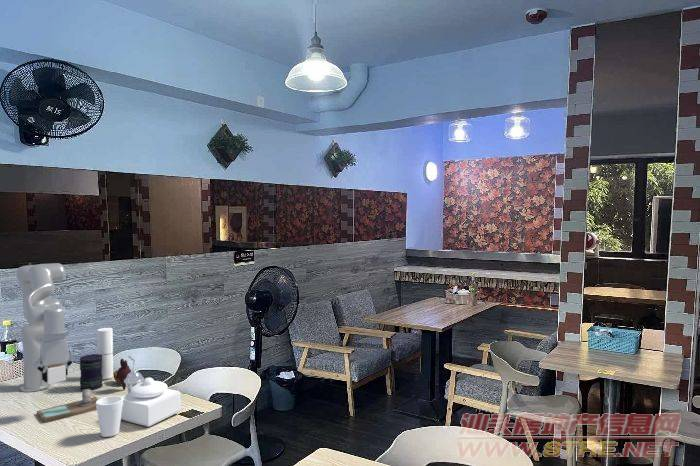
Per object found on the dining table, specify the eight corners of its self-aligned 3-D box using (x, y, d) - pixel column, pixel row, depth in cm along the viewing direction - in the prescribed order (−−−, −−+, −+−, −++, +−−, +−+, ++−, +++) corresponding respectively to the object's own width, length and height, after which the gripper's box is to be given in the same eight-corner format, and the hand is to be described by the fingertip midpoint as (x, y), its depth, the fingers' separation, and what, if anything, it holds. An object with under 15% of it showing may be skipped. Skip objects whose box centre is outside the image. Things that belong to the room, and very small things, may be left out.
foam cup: (102, 428, 193) (102, 395, 192) (126, 427, 193) (126, 395, 193) (92, 439, 183) (91, 405, 183) (117, 438, 184) (117, 404, 183)
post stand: (36, 414, 205) (36, 397, 205) (95, 400, 221) (95, 383, 221) (44, 423, 196) (43, 405, 196) (104, 407, 213) (104, 390, 212)
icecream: (134, 390, 234) (134, 359, 233) (118, 394, 229) (118, 362, 228) (129, 386, 239) (128, 356, 238) (113, 390, 234) (113, 359, 233)
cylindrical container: (106, 379, 248) (106, 331, 247) (94, 378, 249) (94, 330, 248) (116, 375, 255) (115, 328, 254) (104, 374, 256) (103, 327, 255)
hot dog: (122, 378, 251) (122, 368, 251) (131, 385, 241) (131, 375, 241) (112, 380, 248) (111, 370, 247) (120, 387, 238) (120, 377, 238)
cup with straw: (123, 406, 214) (122, 361, 213) (124, 399, 222) (124, 356, 222) (144, 404, 217) (143, 359, 216) (144, 396, 226) (144, 354, 225)
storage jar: (107, 386, 239) (106, 356, 238) (87, 392, 231) (86, 361, 230) (95, 382, 244) (95, 353, 244) (75, 388, 236) (75, 357, 235)
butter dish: (180, 410, 211) (180, 374, 210) (147, 427, 194) (147, 388, 194) (151, 403, 218) (150, 368, 217) (116, 419, 202) (116, 381, 201)
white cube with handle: (61, 376, 208) (61, 361, 208) (65, 380, 204) (65, 364, 204) (44, 380, 204) (44, 364, 204) (48, 384, 199) (48, 367, 199)
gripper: (74, 332, 212) (75, 372, 212) (27, 339, 200) (28, 382, 200) (79, 335, 207) (80, 376, 207) (32, 342, 194) (33, 386, 195)
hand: (55, 379), depth 204 cm, fingers closed on white cube with handle, 6 cm apart
